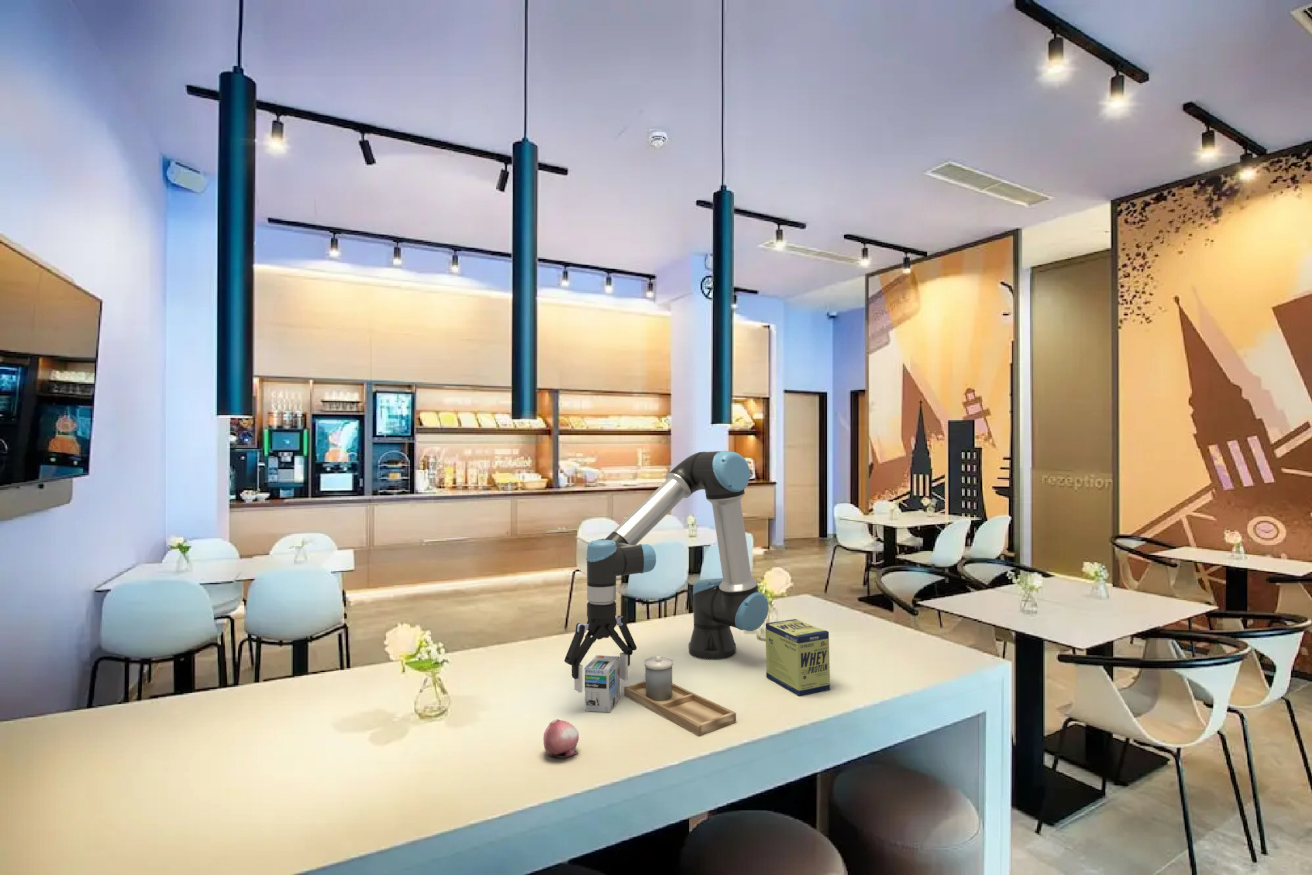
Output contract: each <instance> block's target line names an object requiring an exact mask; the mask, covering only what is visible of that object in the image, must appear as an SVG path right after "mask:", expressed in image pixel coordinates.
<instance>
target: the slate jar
mask: <svg viewBox="0 0 1312 875" xmlns="http://www.w3.org/2000/svg"><path fill="white" fill-rule="evenodd" d="M643 664H644V670H645V671H644V672H645V674H644V675H645V679H644V681H645V685H646V697H648V698H650V699H652V700H654V701H666V700H669V699H671V698H672V696H673V691H672V683H673V665H674V662H673V659H672V658H670V657H667V656H661V655H657V656H650V657H647V658H645V659H644V663H643Z"/></svg>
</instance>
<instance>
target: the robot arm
mask: <svg viewBox="0 0 1312 875" xmlns="http://www.w3.org/2000/svg"><path fill="white" fill-rule="evenodd" d="M750 480H751V470H750V466H749V464H748V462H747V459H745V457H743V456H742V455H741V454H740V453H738V452H735V451H728V450H719V451H699V452H695V453H694V454H691V455H689V456H687V457H686V458H685V459H684V460H682V461H680V463H678V464H677V465H676V466H675V467H673V469H672V470H671V471H670V472H669V473H667V474H666V476H665V481H664V482H663V483H662V484H661V485H660V486H659V487H658V488H657V489H655V490H654V491H653V492H652V494H650V495H649V496H648V497H647V498H646V499H645V500H644V501H643V502H642V503H641V504H640V505H639V506H638V507H636V509H635V510H633V512H632V513H631V514H629V515H628V516H627V517H626V519H623V520H624V521H622V522H621V523H620V524H619V525H618V526H617V527H616V528H615V529H614V530H613V531H612V532H611V533H610V534H608V536H607V537H605V538H599V539H596V540H591V541H589V543H587V547H586V548H587V549H586V581H587V582H586V600H587V601H588V602H587V603H586V618H587V622H586V623H580V622H579V623H578V622H577V623H576V624H575V633H574V635H573V637H572V639H571V642H570V645H569V648H568V649H567V652H566V655H565V657H564V663H566V664H568V665H569V666H571V677H572V678H573V679H574V681H573V682H574V683H573V684H574V690H575V691H576V692H578V694H579V693H580V694H581V693H583V665H582V664H581V663H582V661H583V660H584V658H585V656H586V655H587V653H588V652H589V651H590V649H591V647H592V646H593V644H594V643H596V641H597V640H599V641H600V640H602V639H607V638H611V639H612V641H613V642H614V643H615V644H616V645H617V646H618V647H619V649H620V650H621V652H620V653H619V657H620V680H621V679H622V680H623V681H624V682H625V681H626V682H627V681H629V666H630V665H631V656H632V655H633V652H634V651H636V650H637V645H636V642H635V640H634V638H633V636H632V633H631V631H630V629H629V627H628V624H627V623H628V622H627V617H626V616H625V617H624V616H623V615H617V602H616V600H617V577H621V576H627V575H628V576H629V575H637V574H644V573H649V572H651V571H653V570H654V568H655V567H656V564H657V554H656V552H655V549H654V547H653V546H652V545H651V544H648V543H646V544H645V543H644V544H643V543H640V544H639V542H641V540H642V539H644V538H645V537H646V535H648V533H650V532H651V531H652V530H653V529H654V528H655V527H656V526H657V525H658V523H659V522H661V521H662V519H664V518H665V517H666V516H667V515H668V514H669V513H670V512H671V511H672V510H673V509H674V508H675V507H676V506H677V505H678V504H679V503H680V502H681V500H683V499H688V498H690V497H691V496H692V494H694V493H695V492H698V491H700V490H704V493H705V499H706V500H707V501H708V502H709V503H711V507H712V512H713V519H714V526H715V533H716V540H717V541H716V542H717V546H718V553H719V560H720V561H719V562H720V569H721V573H722V575H721V576H722V578H719V577H717V578H708V579H702V580H697V581H695V583H693V587H692V589H693V590H692V609H693V611H692V612H693V628H692V629H693V630H692V633H691V638H690V641H689V643H688V653H689V655H691V656H692V657H694V658H697V659H703V660H723V659H728V658H731V657H734V656H735V655H736V654H737V644H736V642H735V638H734V635H733V632H732V630H731V627H732V628H735V629H738V630H739V631H745V632H753V631H756V630H758V629H760V628H761V627H762V625H763V624H764V623H765V621H766V619H767V616H768V614H769V601H768V600H769V599H768V598H767V597H766V595H764V594H763V593H762V592H759V585H758V581H757V580H755V578H754V577H753V576H752V572H751V564H750V558H749V550H748V544H747V537H746V530H745V523H744V522H745V521H744V516H743V515H744V514H743V508H742V501H741V500H742V498H743V497H744V496H745V494H746V493H745V489H746V488H747V486H748V485H749V481H750ZM616 616H617V617H616ZM616 626H618V629H619V630H620V632H621V634H622V637H623V639H624V640H623V639H622V638H621V637H620V636H619V633H618V632H617V631H616ZM585 633H586V634H585Z"/></svg>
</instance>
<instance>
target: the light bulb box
mask: <svg viewBox="0 0 1312 875" xmlns="http://www.w3.org/2000/svg"><path fill="white" fill-rule="evenodd" d="M583 672H584V711H586V712H599V713H611V711H612V710H613V709H614V707H615V706H616V704H617V703H618V701H619V700H620V698H621V678H620V655H618V656H617V655H616V656H615V655H601V654H596V655H595V656H594V657H593V658H592V659H591V660H590V662H588V664H587V665H586V666H585V667H584V670H583Z"/></svg>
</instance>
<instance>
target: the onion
mask: <svg viewBox="0 0 1312 875" xmlns="http://www.w3.org/2000/svg"><path fill="white" fill-rule="evenodd" d="M579 739H580V734H579V731H578V729H577V728H576V726H575V725H573V724H572V723H570V722H569V721H566V720H560V719H557V718H556V719H553V720H552V721H550V722H549V724H547V727H546V728H545V730H544V732H543V747H544V750H545V752H546V753H547V755H548V756H551V757H554V758H567V757H571V756H576V755H578V754H579V753H578V751H577V750H576V748H577V746H578V743H579Z"/></svg>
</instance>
